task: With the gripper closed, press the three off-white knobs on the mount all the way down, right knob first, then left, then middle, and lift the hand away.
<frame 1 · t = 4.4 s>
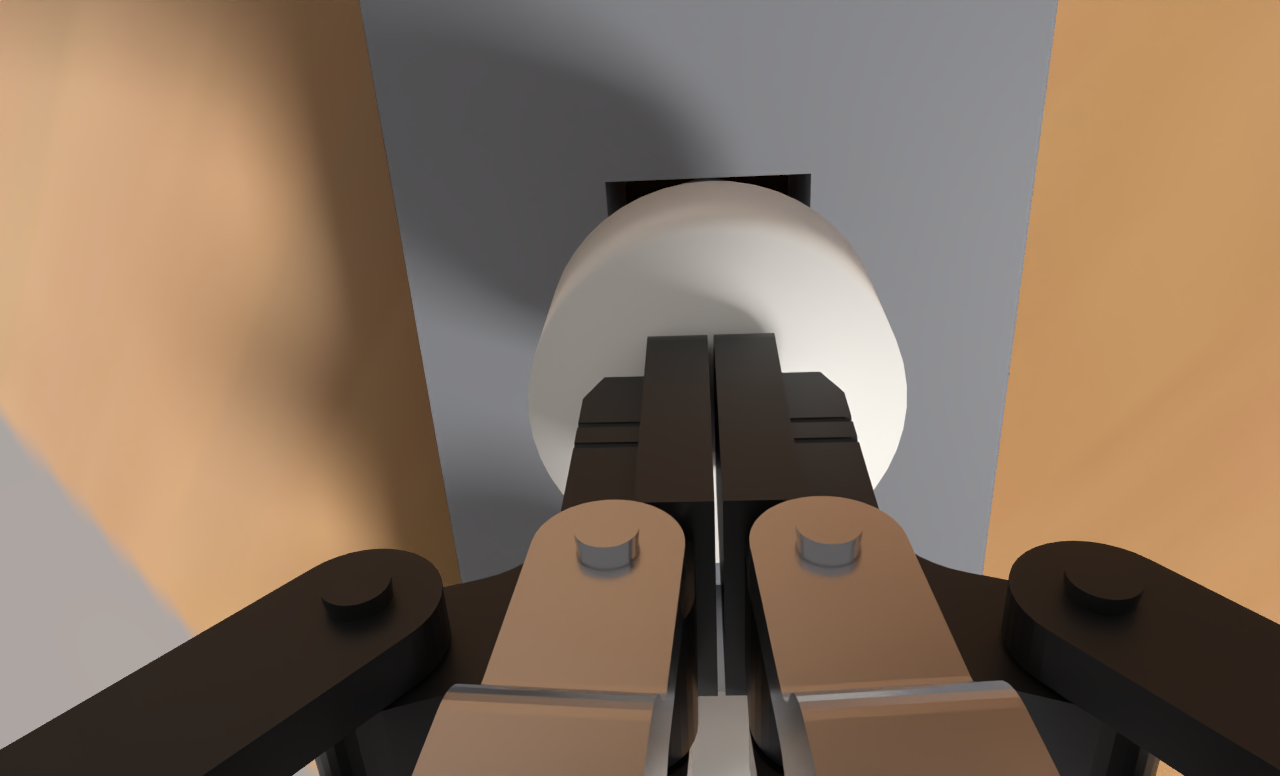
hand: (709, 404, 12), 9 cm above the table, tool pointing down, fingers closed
mount: (715, 529, 23), on the table
knob middle: (722, 745, 18), point 6 cm above the table, slide at 0.0 cm
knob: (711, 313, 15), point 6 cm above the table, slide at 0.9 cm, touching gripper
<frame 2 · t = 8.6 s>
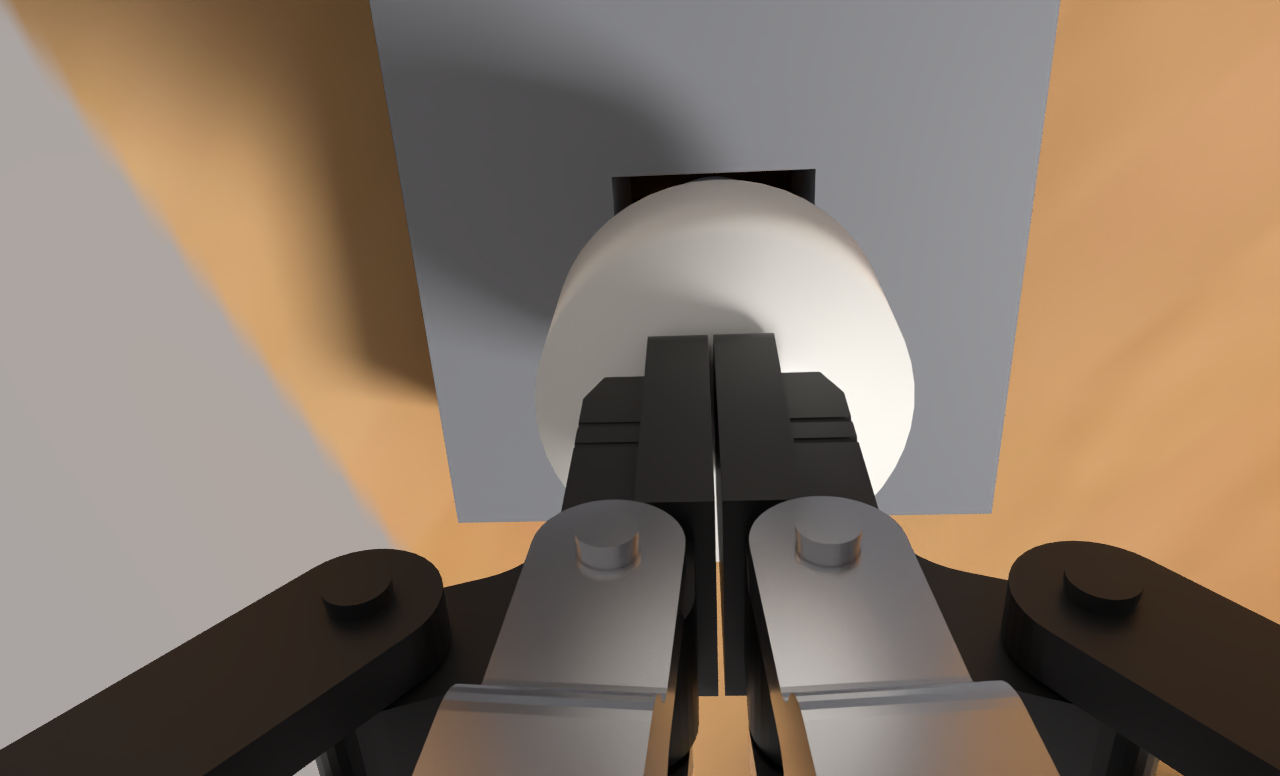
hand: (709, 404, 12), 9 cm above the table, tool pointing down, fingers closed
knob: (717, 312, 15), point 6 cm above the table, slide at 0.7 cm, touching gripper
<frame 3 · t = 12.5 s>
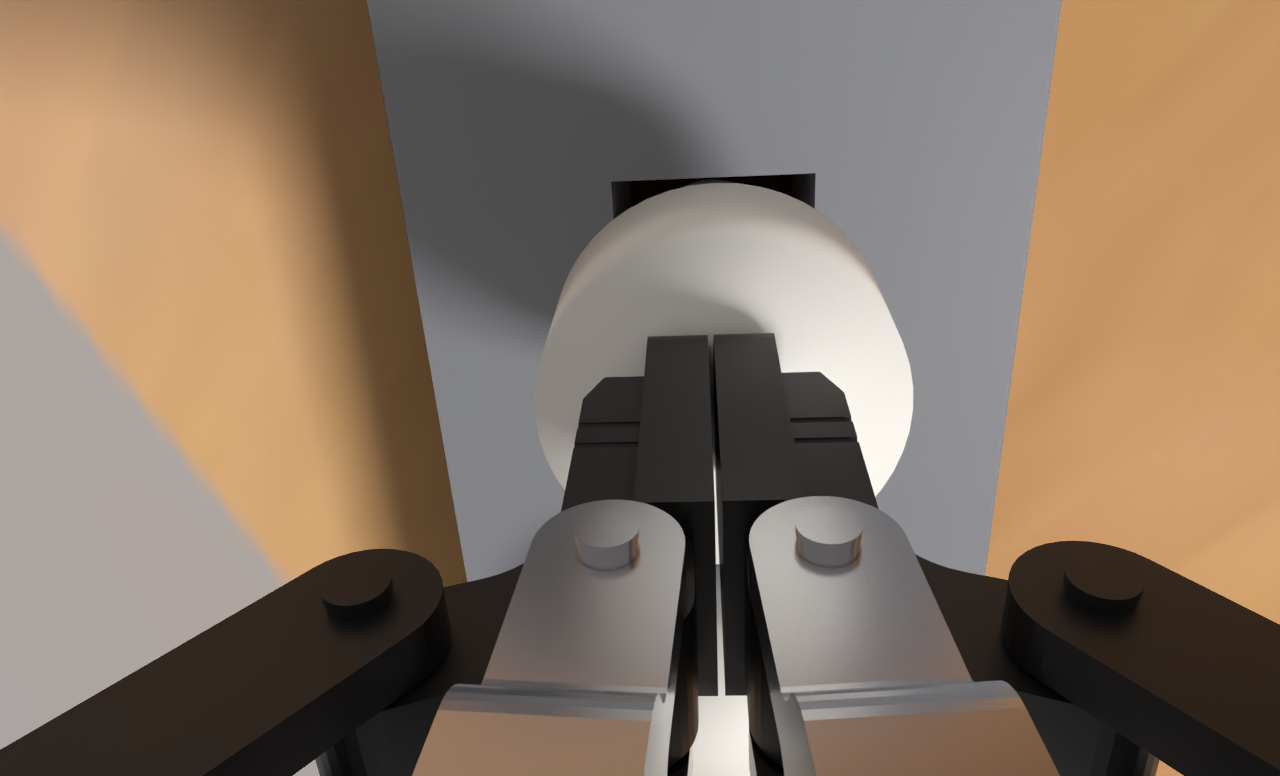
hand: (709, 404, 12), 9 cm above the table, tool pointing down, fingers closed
mount: (711, 200, 20), on the table
knob middle: (716, 315, 15), point 6 cm above the table, slide at 0.8 cm, touching gripper
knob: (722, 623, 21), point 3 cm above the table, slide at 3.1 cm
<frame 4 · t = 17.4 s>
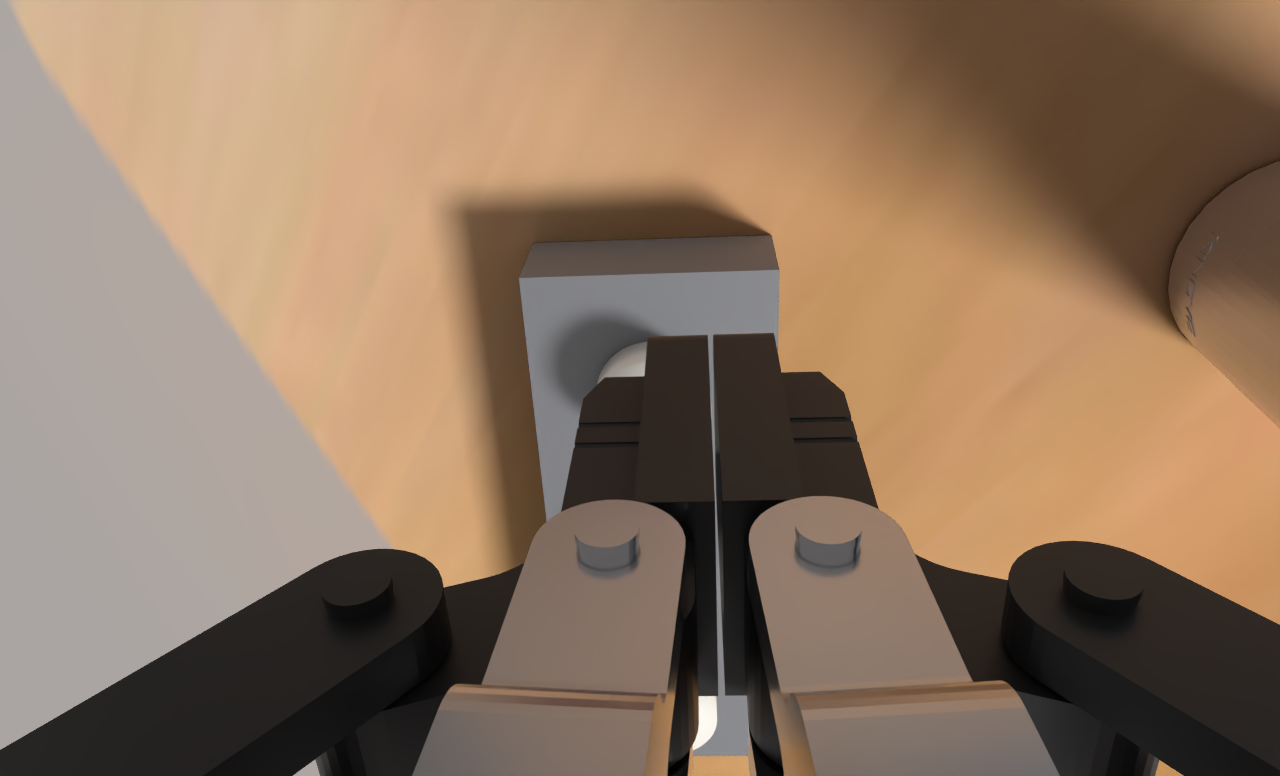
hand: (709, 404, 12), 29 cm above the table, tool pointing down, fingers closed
mount: (663, 497, 48), on the table
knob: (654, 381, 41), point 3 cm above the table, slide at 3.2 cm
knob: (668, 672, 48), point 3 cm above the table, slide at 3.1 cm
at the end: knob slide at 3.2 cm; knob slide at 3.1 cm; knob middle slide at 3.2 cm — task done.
